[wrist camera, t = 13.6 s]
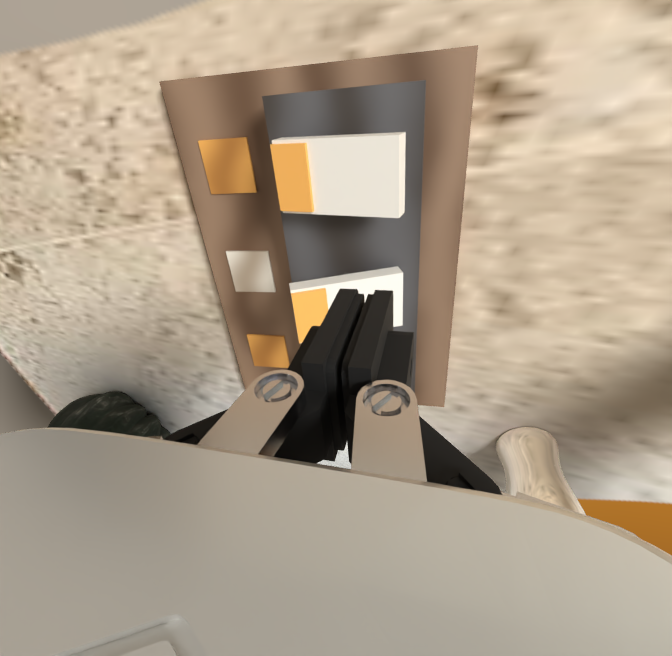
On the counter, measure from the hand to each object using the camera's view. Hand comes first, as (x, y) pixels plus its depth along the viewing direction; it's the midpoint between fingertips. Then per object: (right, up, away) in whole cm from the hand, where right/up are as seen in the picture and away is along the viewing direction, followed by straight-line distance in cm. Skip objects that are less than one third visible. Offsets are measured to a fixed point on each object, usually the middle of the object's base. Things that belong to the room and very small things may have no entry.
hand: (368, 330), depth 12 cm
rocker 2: (0, +2, +16) cm, 16 cm away
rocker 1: (-1, +9, +11) cm, 14 cm away
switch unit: (-2, +6, +22) cm, 23 cm away
